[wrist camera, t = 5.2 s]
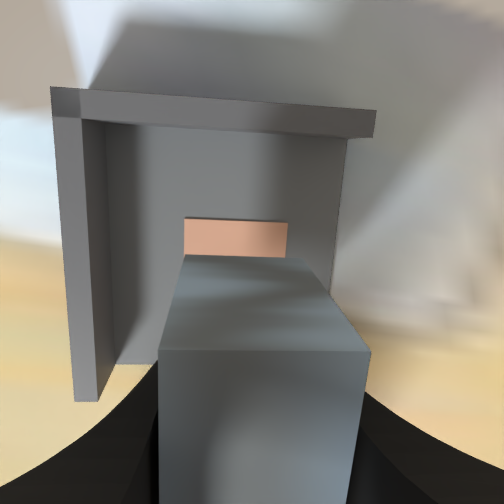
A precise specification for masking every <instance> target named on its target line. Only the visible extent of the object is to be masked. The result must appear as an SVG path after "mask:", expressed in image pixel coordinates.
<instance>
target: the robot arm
mask: <svg viewBox="0 0 504 504" xmlns="http://www.w3.org/2000/svg"><path fill="white" fill-rule="evenodd" d="M0 504H159V421H158V360H157V361H156V362H155V363H154V365H153V366H152V367H151V368H150V370H149V371H148V372H147V373H146V375H145V376H144V377H143V378H142V379H141V381H140V382H139V383H138V384H137V385H136V386H135V387H134V388H133V389H132V391H131V392H130V393H129V394H128V395H127V396H126V397H125V398H124V399H123V400H122V401H121V402H120V403H119V404H118V405H117V406H116V407H115V408H114V409H113V410H112V411H111V412H110V413H109V414H108V415H107V416H106V417H104V418H103V419H102V420H101V421H100V422H99V423H98V424H97V425H95V426H94V427H93V428H92V429H91V430H89V431H88V432H87V433H86V434H84V435H83V436H82V437H80V438H79V439H78V440H76V441H75V442H73V443H72V444H70V445H69V446H67V447H66V448H64V449H63V450H62V451H60V452H59V453H57V454H56V455H54V456H53V457H51V458H50V459H48V460H47V461H45V462H43V463H42V464H40V465H38V466H37V467H35V468H34V469H32V470H30V471H28V472H27V473H25V474H23V475H21V476H20V477H18V478H16V479H14V480H12V481H11V482H9V483H7V484H5V485H3V486H1V487H0ZM346 504H504V470H502V469H500V468H498V467H495V466H493V465H491V464H488V463H486V462H484V461H481V460H479V459H477V458H474V457H472V456H470V455H468V454H466V453H464V452H462V451H459V450H457V449H455V448H454V447H452V446H450V445H448V444H446V443H444V442H442V441H440V440H438V439H436V438H434V437H432V436H431V435H429V434H427V433H425V432H424V431H422V430H420V429H419V428H417V427H415V426H414V425H412V424H410V423H409V422H407V421H406V420H404V419H402V418H401V417H399V416H398V415H396V414H395V413H393V412H392V411H391V410H389V409H388V408H386V407H385V406H384V405H382V404H381V403H380V402H378V401H377V400H375V399H374V398H373V397H372V396H370V395H369V394H368V393H366V392H364V398H363V404H362V410H361V415H360V421H359V427H358V433H357V439H356V445H355V451H354V457H353V463H352V469H351V475H350V481H349V487H348V492H347V498H346Z"/></svg>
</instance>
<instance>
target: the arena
mask: <svg viewBox="0 0 504 504" xmlns="http://www.w3.org/2000/svg"><path fill="white" fill-rule="evenodd" d="M50 91H51V92H50V93H51V105H52V118H53V131H54V144H55V157H56V170H57V183H58V196H59V208H60V221H61V234H62V247H63V260H64V273H65V286H66V298H67V311H68V324H69V337H70V350H71V363H72V376H73V388H74V401H75V402H98V400H99V398H100V396H101V394H102V392H103V390H104V387H105V385H106V383H107V381H108V379H109V377H110V375H111V373H112V370H113V368H114V366H115V364H154V363H155V362H156V361H157V360H158V348H159V344H160V341H161V337H162V334H163V330H164V327H165V323H166V320H167V316H168V313H169V309H170V306H171V302H172V298H173V295H174V291H175V288H176V284H177V281H178V277H179V274H180V270H181V267H182V263H183V260H184V256H185V254H193V255H223V256H253V257H283V258H303V259H304V260H305V262H306V263H307V264H308V266H309V267H310V269H311V270H312V271H313V273H314V274H315V275H316V277H317V278H318V279H319V281H320V282H321V284H322V285H323V286H324V288H325V289H326V290H327V292H328V293H329V288H330V280H331V271H332V263H333V255H334V246H335V238H336V230H337V221H338V213H339V205H340V197H341V188H342V180H343V172H344V163H345V155H346V147H347V139H355V138H372V137H373V132H374V125H375V118H376V110H365V109H351V108H338V107H324V106H310V105H297V104H283V103H270V102H256V101H242V100H229V99H215V98H201V97H188V96H174V95H160V94H147V93H133V92H120V91H106V90H92V89H79V88H65V87H51V86H50Z"/></svg>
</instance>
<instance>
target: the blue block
mask: <svg viewBox="0 0 504 504" xmlns="http://www.w3.org/2000/svg"><path fill="white" fill-rule="evenodd" d="M370 356H371V350H370V349H369V348H368V346H367V345H366V344H365V342H364V341H363V339H362V338H361V337H360V335H359V334H358V333H357V331H356V330H355V329H354V327H353V326H352V324H351V323H350V322H349V320H348V319H347V318H346V316H345V315H344V314H343V312H342V311H341V309H340V308H339V307H338V305H337V304H336V303H335V301H334V300H333V299H332V297H331V296H330V294H329V293H328V292H327V290H326V289H325V288H324V286H323V285H322V284H321V282H320V281H319V279H318V278H317V277H316V275H315V274H314V273H313V271H312V270H311V269H310V267H309V266H308V264H307V263H306V262H305V260H304V259H303V258H283V257H253V256H223V255H193V254H185V256H184V260H183V263H182V267H181V270H180V274H179V277H178V281H177V284H176V288H175V291H174V295H173V298H172V302H171V306H170V309H169V313H168V316H167V320H166V323H165V327H164V330H163V334H162V337H161V341H160V344H159V348H158V421H159V504H346V498H347V492H348V487H349V481H350V475H351V469H352V463H353V457H354V451H355V445H356V439H357V433H358V427H359V421H360V415H361V410H362V404H363V398H364V392H365V386H366V380H367V374H368V368H369V362H370Z"/></svg>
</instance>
